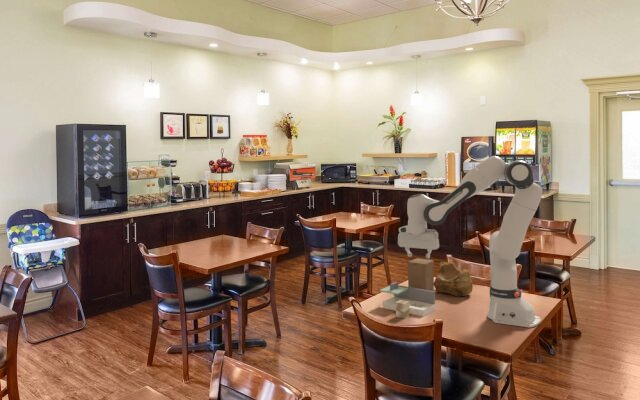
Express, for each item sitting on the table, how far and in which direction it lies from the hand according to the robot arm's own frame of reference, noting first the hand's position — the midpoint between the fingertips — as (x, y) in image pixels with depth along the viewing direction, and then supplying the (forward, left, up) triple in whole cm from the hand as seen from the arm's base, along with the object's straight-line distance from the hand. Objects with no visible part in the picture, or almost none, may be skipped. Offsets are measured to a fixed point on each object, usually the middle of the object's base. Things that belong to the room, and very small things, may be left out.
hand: (418, 257), depth 233 cm
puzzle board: (+6, 0, -26) cm, 27 cm away
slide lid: (+14, +1, -18) cm, 23 cm away
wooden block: (+9, -18, -27) cm, 33 cm away
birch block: (+3, +11, -26) cm, 29 cm away
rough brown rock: (+2, -36, -27) cm, 45 cm away
